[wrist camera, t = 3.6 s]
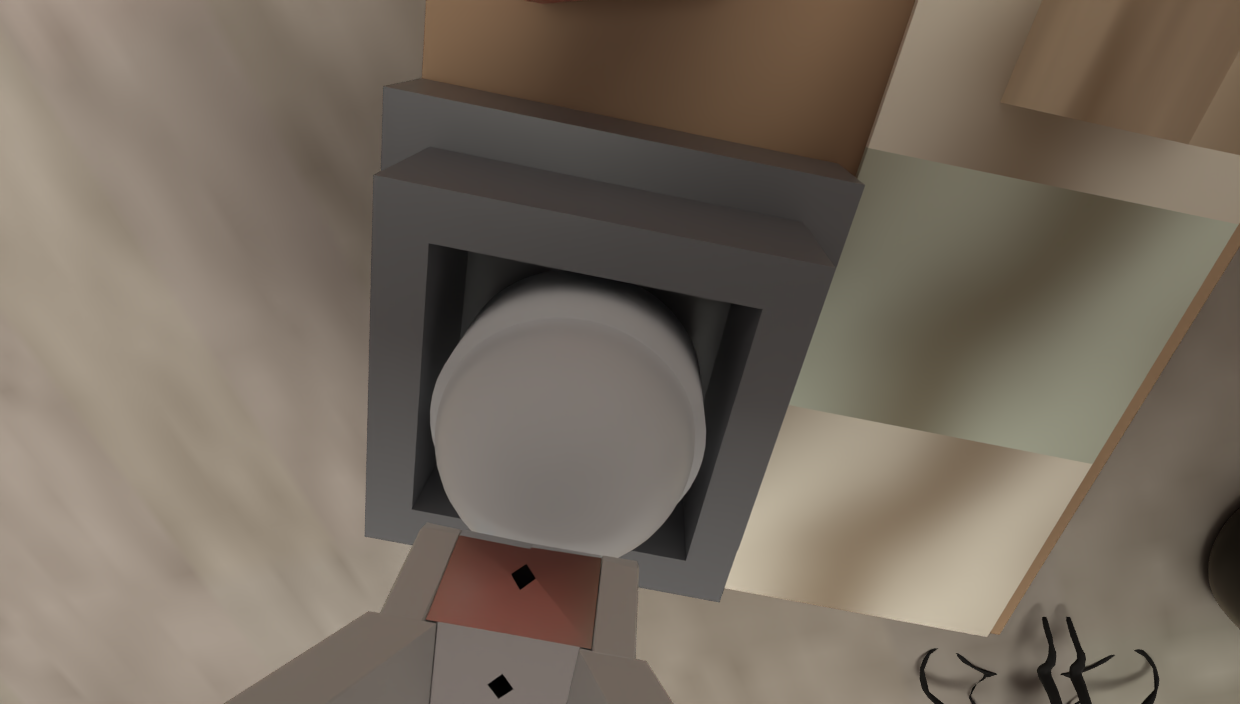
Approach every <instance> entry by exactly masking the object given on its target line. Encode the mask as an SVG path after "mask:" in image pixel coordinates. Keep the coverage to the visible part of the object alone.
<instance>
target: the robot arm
mask: <svg viewBox="0 0 1240 704" xmlns="http://www.w3.org/2000/svg"><path fill="white" fill-rule="evenodd" d="M638 581H639V565H638V563H637V561H633V560H627V559H621V558H615V557H609V556H603V555H602V557H601V555H595V554H589V553H584V552H578V551H572V550H567V549H561V548H555V547H549V546H544V545H538V544H531V543H526V542H522V541H517V540H512V539H507V538H502V537H498V536H493V535H488V534H483V533H478V532H474V531H469V530H464V529H463V530H460V529H455V528H450V527H446V526H441V525H436V524H432V523H426V524H425V525H424V526H423V527H422V528H421V529H420V531H419V533H418V535H417V537H416V539H415V541H414V543H413V545H412V547H411V550H410V552H409V554H408V556H407V558H406V560H405V562H404V564H403V566H402V568H401V570H400V572H399V574H398V576H397V578H396V581H395V583H394V585H393V587H392V589H391V591H390V593H389V595H388V597H387V599H386V601H385V603H384V605H383V607H382V610H381V612H380V613H376V612H370V611H368V612H366V613H365V614H363V615H362V616H360V617H359V618H357V619H355V620H354V621H352V622H351V623H349V624H348V625H346V626H345V627H343V628H341V629H340V630H338V631H337V632H335V633H334V634H332V635H330V636H329V637H327V638H326V639H324V640H323V641H321V642H319V643H318V644H316V645H315V646H313V647H312V648H310V649H308V650H307V651H305V652H304V653H302V654H301V655H299V656H297V657H296V658H294V659H293V660H291V661H290V662H288V663H287V664H285V665H283V666H282V667H280V668H279V669H277V670H276V671H274V672H272V673H271V674H269V675H268V676H266V677H265V678H263V679H261V680H260V681H258V682H257V683H255V684H254V685H252V686H250V687H249V688H247V689H246V690H244V691H243V692H241V693H240V694H238V695H236V696H235V697H233V698H232V699H230V700H229V701H227V702H225V703H224V704H673V702H672V700H671V699H670V697H669V696H668V694H667V693H666V691H665V689H664V688H663V686H662V685H661V683H660V681H659V680H658V678H657V677H656V675H655V674H654V672H653V670H652V669H651V667H650V666H649V664H648V662H647V661H644V660H639V659H636V634H637V608H638Z"/></svg>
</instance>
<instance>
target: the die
mask: <svg viewBox="0 0 1240 704" xmlns="http://www.w3.org/2000/svg"><path fill="white" fill-rule="evenodd" d="M525 1H530V2H536V3H541V4H547V3H559V2H570V1H581V0H525Z"/></svg>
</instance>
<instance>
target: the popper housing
mask: <svg viewBox="0 0 1240 704" xmlns="http://www.w3.org/2000/svg"><path fill="white" fill-rule="evenodd" d="M864 187H865V184H863V183H862V182H861V181H860V180H858V179H857V178H856V177H854V176H853V175H852V174H851V173H849V172H848V171H847V170H846V169H844V168H843V167H842V166H840V165H839V164H837V163H832V162H827V161H823V160H818V159H813V158H808V157H803V156H798V155H793V154H788V153H784V152H779V151H774V150H769V149H764V148H759V147H754V146H750V145H745V144H740V143H735V142H730V141H725V140H720V139H715V138H711V137H706V136H701V135H696V134H691V133H686V132H681V131H677V130H672V129H667V128H662V127H657V126H652V125H647V124H642V123H638V122H633V121H628V120H623V119H618V118H613V117H608V116H604V115H599V114H594V113H589V112H584V111H579V110H574V109H569V108H565V107H560V106H555V105H550V104H545V103H540V102H535V101H531V100H526V99H521V98H516V97H511V96H506V95H501V94H496V93H492V92H487V91H482V90H477V89H472V88H467V87H462V86H458V85H453V84H448V83H443V82H438V81H433V80H428V79H423V78H421V79H416V80H411V81H406V82H401V83H397V84H392V85H387V86H383V117H382V151H381V171H380V172H378V173H376V174H374V176H373V217H372V258H371V299H370V339H369V380H368V421H367V462H366V503H365V537H370V538H376V539H381V540H386V541H392V542H397V543H403V544H408V545H413V543H414V541H415V539H416V537H417V535H418V533H419V531H420V529H421V528H422V527H423V526H424V525H425V524H426V523H432V524H436V525H441V526H446V527H450V528H455V529H460V530H463V529H464V530H469V531H471V530H470V529H469V528H468V527H467V525H466V524H465V523H464V522H463V521H462V519H461V518H460V516H459V515H458V513H457V512H456V510H455V509H454V507H453V506H452V504H451V502H450V501H449V499H448V496H447V494H446V492H445V490H444V487H443V484H442V481H441V478H440V474H439V471H438V468H437V462H436V455H435V446H434V443H433V440H432V433H431V427H430V407H431V400H432V394H433V391H434V388H435V384H436V381H437V379H438V377H439V375H440V373H441V371H442V369H443V367H444V365H445V363H446V362H447V360H448V359H449V357H450V355H451V354H452V352H453V351H454V349H455V348H456V346H457V345H458V343H459V342H460V340H461V339H462V337H463V336H464V334H465V332H466V331H467V329H468V328H469V326H470V325H471V323H472V322H473V320H474V319H475V317H476V316H477V315H478V313H479V312H480V310H481V309H482V308H483V307H484V306H485V305H486V304H487V303H488V302H489V301H490V300H491V299H492V298H493V297H494V296H496V295H497V294H498V293H500V292H501V291H502V290H504V289H505V288H507V287H509V286H510V285H512V284H514V283H516V282H517V281H520V280H522V279H525V278H527V277H530V276H532V275H536V274H540V273H544V272H548V271H556V270H566V271H571V272H576V273H581V274H586V275H592V276H597V277H602V278H607V279H612V280H617V281H622V282H627V283H632V284H636V285H638V286H639V287H641V288H643V289H645V290H647V291H648V292H649V293H651V294H652V295H654V296H655V297H656V298H658V299H659V300H660V301H661V302H662V303H663V304H665V305H666V306H667V307H668V308H669V309H670V310H671V311H672V312H673V313H674V315H675V316H676V317H677V318H678V320H679V321H680V322H681V324H682V325H683V327H684V328H685V330H686V332H687V333H688V335H689V337H690V339H691V341H692V344H693V346H694V348H695V351H696V354H697V358H698V362H699V367H700V376H701V386H702V395H703V405H704V415H705V424H706V444H705V451H704V455H703V460H702V463H701V466H700V469H699V471H698V474H697V476H696V478H695V480H694V482H693V483H692V485H691V487H690V489H689V490H688V491H687V493H686V494H685V495H684V496H683V498H682V499H681V500H680V501H679V502H678V503H677V505H676V506H675V508H674V510H673V512H672V513H671V514H670V516H669V517H668V518H667V520H666V521H665V522H664V523H663V524H662V525H661V527H660V528H659V529H658V530H657V531H656V532H655V533H654V534H653V535H652V536H651V537H650V538H649V539H647V540H646V541H645V542H643V543H642V544H641V545H639V546H638V547H636V548H635V549H633V550H631V551H630V552H628V553H626V554H624V555H622V556H621V557H619V558H621V559H627V560H633V561H637V563H638V565H639V581H638V587H640V588H645V589H650V590H656V591H661V592H667V593H672V594H677V595H683V596H688V597H694V598H699V599H704V600H710V601H715V602H720V599H721V596H722V594H723V591H724V588H725V585H726V582H727V579H728V576H729V573H730V570H731V568H732V565H733V562H734V559H735V556H736V553H737V550H738V549H739V546H740V543H741V541H742V538H743V535H744V532H745V529H746V526H747V523H748V521H749V518H750V515H751V512H752V509H753V506H754V503H755V500H756V498H757V495H758V492H759V489H760V486H761V483H762V480H763V477H764V475H765V472H766V469H767V466H768V463H769V460H770V457H771V454H772V452H773V449H774V446H775V443H776V440H777V437H778V434H779V431H780V429H781V426H782V423H783V420H784V417H785V414H786V411H787V408H788V406H789V403H790V400H791V397H792V394H793V391H794V388H795V385H796V383H797V380H798V377H799V374H800V371H801V368H802V365H803V362H804V360H805V357H806V354H807V351H808V348H809V345H810V342H811V339H812V337H813V334H814V331H815V328H816V325H817V322H818V319H819V316H820V314H821V311H822V308H823V305H824V302H825V299H826V296H827V293H828V291H829V288H830V285H831V282H832V279H833V276H834V273H835V271H836V268H837V265H838V262H839V259H840V256H841V253H842V250H843V248H844V245H845V242H846V239H847V236H848V233H849V230H850V227H851V225H852V222H853V219H854V216H855V213H856V210H857V207H858V204H859V202H860V199H861V196H862V193H863V190H864Z"/></svg>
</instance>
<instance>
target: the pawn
mask: <svg viewBox="0 0 1240 704" xmlns="http://www.w3.org/2000/svg"><path fill="white" fill-rule="evenodd" d="M1000 102H1001V103H1005V104H1010V105H1014V106H1019V107H1023V108H1028V109H1032V110H1036V111H1041V112H1045V113H1050V114H1054V115H1059V116H1063V117H1068V118H1072V119H1077V120H1081V121H1086V122H1090V123H1095V124H1099V125H1104V126H1108V127H1113V128H1117V129H1122V130H1126V131H1130V132H1135V133H1139V134H1144V135H1148V136H1153V137H1157V138H1162V139H1166V140H1171V141H1175V142H1180V143H1184V144H1189V145H1193V146H1198V147H1203V148H1208V149H1213V150H1217V151H1222V152H1227V153H1232V154H1236V155H1240V0H1042V2H1041V5H1040V7H1039V9H1038V12H1037V14H1036V17H1035V19H1034V21H1033V24H1032V26H1031V29H1030V31H1029V34H1028V36H1027V38H1026V41H1025V43H1024V46H1023V48H1022V50H1021V53H1020V55H1019V58H1018V60H1017V63H1016V65H1015V67H1014V70H1013V72H1012V75H1011V77H1010V79H1009V82H1008V84H1007V87H1006V89H1005V91H1004V94H1003V96H1002V99H1001V101H1000Z"/></svg>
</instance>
